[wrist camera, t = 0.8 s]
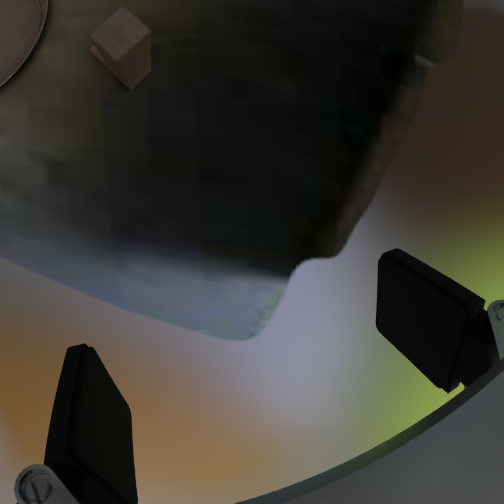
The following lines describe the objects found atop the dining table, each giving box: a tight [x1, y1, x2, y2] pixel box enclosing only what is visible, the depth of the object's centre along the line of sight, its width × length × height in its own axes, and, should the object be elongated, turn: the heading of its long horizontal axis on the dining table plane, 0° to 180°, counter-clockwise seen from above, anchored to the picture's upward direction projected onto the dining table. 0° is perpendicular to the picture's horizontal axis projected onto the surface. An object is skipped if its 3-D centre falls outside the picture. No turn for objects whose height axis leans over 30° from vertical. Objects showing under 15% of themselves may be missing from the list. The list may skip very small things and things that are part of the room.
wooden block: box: [89, 6, 151, 90], centre depth 22 cm, size 7×3×15 cm, turn 43°
